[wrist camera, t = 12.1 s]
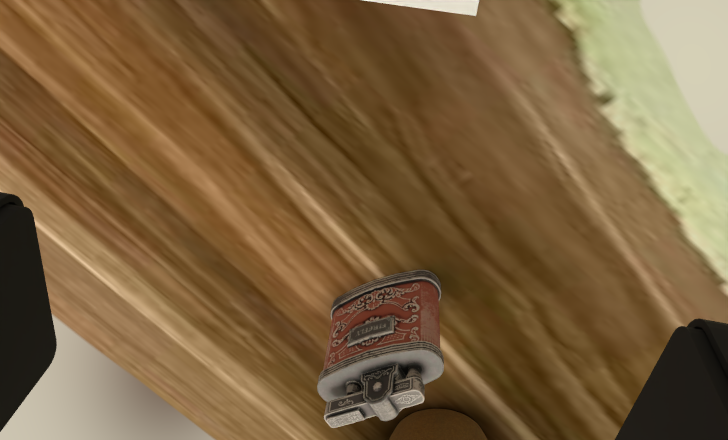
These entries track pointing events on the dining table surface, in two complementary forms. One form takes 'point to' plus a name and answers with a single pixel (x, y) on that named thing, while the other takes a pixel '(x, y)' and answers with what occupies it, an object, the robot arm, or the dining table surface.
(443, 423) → the plant pot
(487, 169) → the dining table surface
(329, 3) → the dining table surface
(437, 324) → the lighter
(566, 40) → the dining table surface
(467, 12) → the housing
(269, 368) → the dining table surface
